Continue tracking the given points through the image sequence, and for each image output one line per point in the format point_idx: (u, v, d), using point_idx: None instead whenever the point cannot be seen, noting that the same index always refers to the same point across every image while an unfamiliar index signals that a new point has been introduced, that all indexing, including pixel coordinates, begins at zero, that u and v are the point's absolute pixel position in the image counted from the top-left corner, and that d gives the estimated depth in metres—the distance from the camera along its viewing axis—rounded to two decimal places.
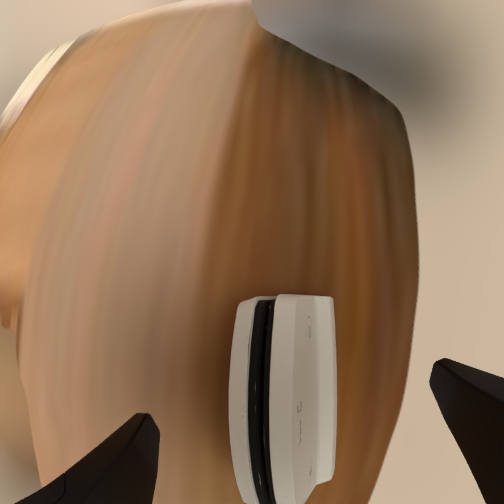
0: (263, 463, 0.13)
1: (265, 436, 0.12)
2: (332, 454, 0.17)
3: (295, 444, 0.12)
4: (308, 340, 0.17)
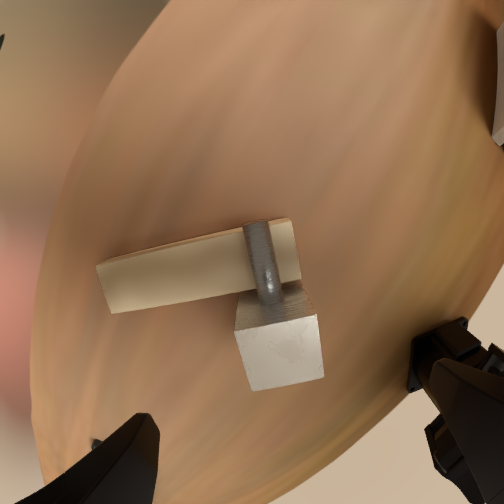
0: None
1: None
2: None
3: None
4: None
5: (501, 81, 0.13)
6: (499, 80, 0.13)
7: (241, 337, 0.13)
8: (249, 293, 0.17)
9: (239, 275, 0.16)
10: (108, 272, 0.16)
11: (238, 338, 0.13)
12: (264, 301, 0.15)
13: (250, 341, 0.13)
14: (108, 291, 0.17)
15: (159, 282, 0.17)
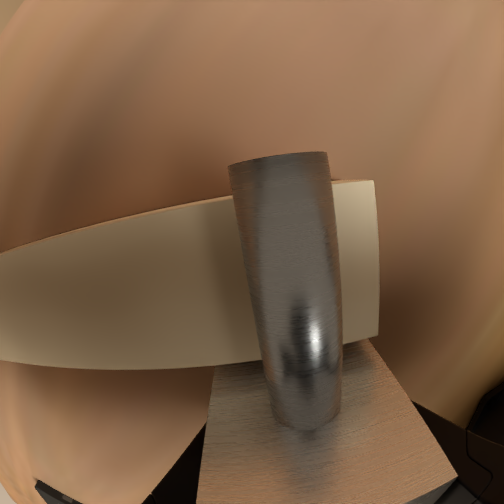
0: None
1: None
2: None
3: None
4: None
5: None
6: None
7: None
8: (241, 363, 0.07)
9: (215, 327, 0.06)
10: None
11: None
12: (289, 419, 0.04)
13: None
14: None
15: (37, 319, 0.06)
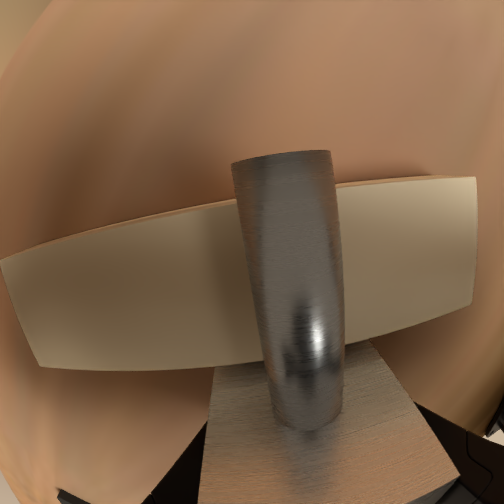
0: None
1: None
2: None
3: None
4: None
5: None
6: None
7: None
8: (241, 363, 0.07)
9: (364, 302, 0.06)
10: (21, 276, 0.05)
11: None
12: (291, 419, 0.04)
13: None
14: (26, 320, 0.06)
15: (137, 314, 0.06)
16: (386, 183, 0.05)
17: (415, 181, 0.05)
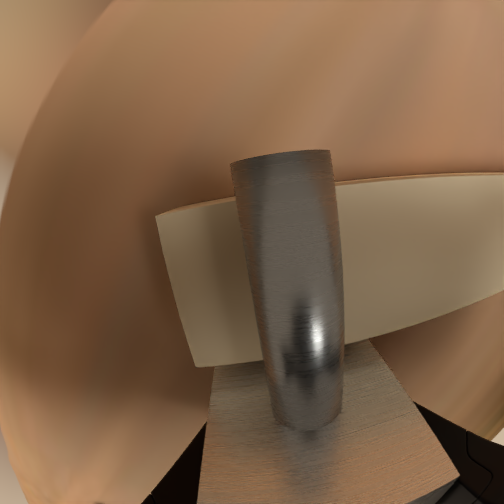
0: None
1: None
2: None
3: None
4: None
5: None
6: None
7: None
8: (241, 363, 0.07)
9: None
10: (210, 237, 0.05)
11: None
12: (291, 419, 0.04)
13: None
14: (197, 303, 0.06)
15: (384, 273, 0.05)
16: None
17: None
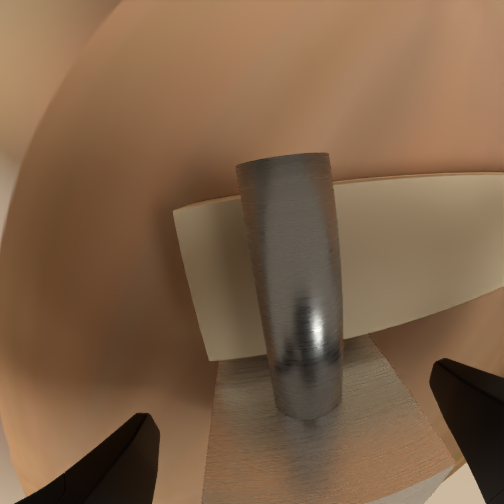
0: None
1: None
2: None
3: None
4: None
5: None
6: None
7: None
8: (244, 357, 0.07)
9: None
10: (227, 231, 0.05)
11: None
12: (292, 408, 0.04)
13: None
14: (213, 296, 0.06)
15: (392, 267, 0.06)
16: None
17: None
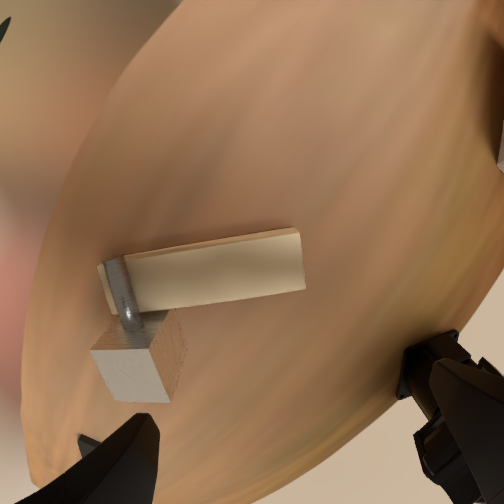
0: None
1: None
2: None
3: None
4: None
5: None
6: None
7: (95, 355, 0.13)
8: None
9: (244, 283, 0.17)
10: None
11: (93, 356, 0.13)
12: (123, 327, 0.15)
13: (103, 360, 0.13)
14: (109, 292, 0.16)
15: (163, 286, 0.16)
16: (250, 240, 0.16)
17: (262, 238, 0.16)
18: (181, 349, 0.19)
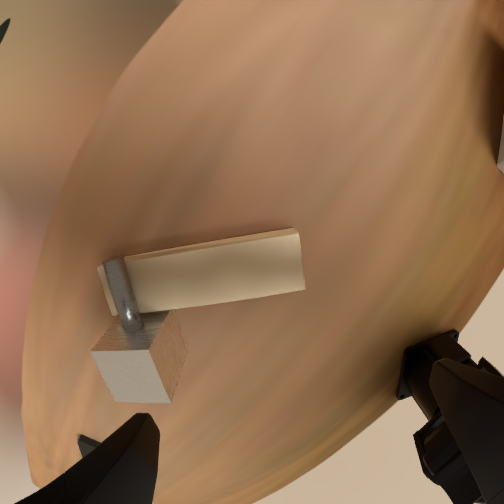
0: None
1: None
2: None
3: None
4: None
5: None
6: None
7: (96, 356, 0.13)
8: None
9: (244, 284, 0.17)
10: None
11: (94, 357, 0.13)
12: (124, 328, 0.15)
13: (103, 361, 0.13)
14: (110, 293, 0.17)
15: (163, 287, 0.17)
16: (249, 241, 0.16)
17: (262, 239, 0.16)
18: (181, 349, 0.19)
